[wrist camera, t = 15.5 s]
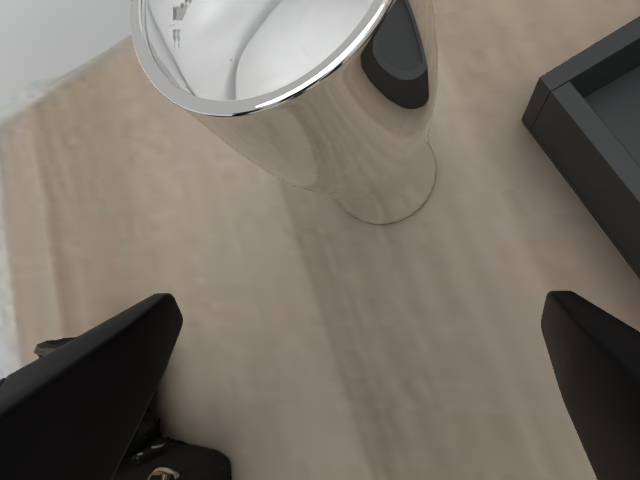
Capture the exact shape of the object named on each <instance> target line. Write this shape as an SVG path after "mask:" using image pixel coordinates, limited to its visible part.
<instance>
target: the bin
mask: <svg viewBox="0 0 640 480" xmlns="http://www.w3.org/2000/svg"><path fill="white" fill-rule="evenodd" d="M522 122H523V123H524V124H525V126H526V127H527V128H528V130H529V131H530V132H531V134H532V135H533V136H534V138H535V139H536V140H537V142H538V143H539V144H540V146H541V147H542V148H543V150H544V151H545V152H546V154H547V155H548V156H549V158H550V159H551V160H552V162H553V163H554V164H555V166H556V167H557V168H558V170H559V171H560V172H561V174H562V175H563V176H564V178H565V179H566V180H567V182H568V183H569V184H570V186H571V187H572V188H573V190H574V191H575V192H576V194H577V195H578V196H579V198H580V199H581V200H582V202H583V203H584V204H585V206H586V207H587V208H588V210H589V211H590V212H591V214H592V215H593V216H594V218H595V219H596V220H597V222H598V223H599V224H600V226H601V227H602V228H603V230H604V231H605V232H606V234H607V235H608V237H609V238H610V239H611V241H612V242H613V243H614V245H615V246H616V247H617V249H618V250H619V251H620V253H621V254H622V255H623V257H624V258H625V259H626V261H627V262H628V263H629V265H630V266H631V267H632V269H633V270H634V271H635V273H636V274H637V275H638V277H639V278H640V16H639V17H638V18H636V19H635V20H633V21H631V22H630V23H628V24H626V25H625V26H623V27H621V28H620V29H618V30H617V31H615V32H613V33H612V34H610V35H608V36H607V37H605V38H603V39H602V40H600V41H599V42H597V43H595V44H594V45H592V46H590V47H589V48H587V49H585V50H584V51H582V52H581V53H579V54H577V55H576V56H574V57H572V58H571V59H569V60H568V61H566V62H564V63H563V64H561V65H559V66H558V67H556V68H554V69H553V70H551V71H550V72H548V73H546V74H545V75H543V76H541V77H540V78H539V80H538V82H537V85H536V87H535V89H534V92H533V94H532V96H531V99H530V101H529V103H528V106H527V108H526V110H525V113H524V115H523V117H522Z"/></svg>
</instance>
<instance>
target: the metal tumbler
mask: <svg viewBox="0 0 640 480" xmlns="http://www.w3.org/2000/svg"><path fill="white" fill-rule="evenodd" d="M131 32H132V38H133V43H134V47H135V51H136V54H137V57H138V60H139V62H140V64H141V66H142V68H143V70H144V72H145V74H146V76H147V77H148V79H149V80H150V81H151V83H152V84H153V85H154V86H155V87H156V89H157V90H158V91H159V92H160V93H161V94H162V95H164V96H165V97H166V98H167V99H168V100H170V101H171V102H173V103H174V104H176V105H178V106H180V107H182V108H183V109H184V110H186V111H187V112H188V113H189V114H191V115H192V116H193V117H194V118H196V119H197V120H198V121H199V122H200V123H202V124H203V125H204V126H205V127H206V128H208V129H209V130H210V131H211V132H212V133H214V134H215V135H216V136H217V137H219V138H220V139H221V140H222V141H224V142H225V143H226V144H228V145H229V146H230V147H231V148H233V149H234V150H235V151H237V152H238V153H239V154H241V155H242V156H244V157H245V158H247V159H248V160H249V161H251V162H252V163H254V164H255V165H257V166H258V167H260V168H261V169H263V170H264V171H266V172H268V173H270V174H272V175H273V176H275V177H277V178H279V179H281V180H283V181H285V182H286V183H288V184H291V185H293V186H295V187H298V188H301V189H304V190H307V191H310V192H313V193H317V194H321V195H325V196H330V197H335V198H337V199H338V201H339V203H340V204H341V205H342V207H343V208H344V209H345V210H346V211H347V212H348V213H350V214H351V215H352V216H354V217H355V218H357V219H359V220H361V221H364V222H367V223H372V224H388V223H393V222H397V221H399V220H402V219H404V218H406V217H408V216H410V215H411V214H412V213H414V212H415V211H416V210H417V209H419V208H420V207H421V206H422V204H423V203H424V202H425V201H426V199H427V198H428V196H429V194H430V192H431V190H432V188H433V185H434V182H435V177H436V164H435V158H434V155H433V152H432V150H431V148H430V146H429V144H428V142H427V141H426V139H427V136H428V132H429V129H430V125H431V122H432V117H433V112H434V106H435V100H436V94H437V86H438V45H437V35H436V26H435V17H434V8H433V2H432V0H131Z"/></svg>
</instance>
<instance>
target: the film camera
mask: <svg viewBox="0 0 640 480" xmlns="http://www.w3.org/2000/svg"><path fill="white" fill-rule="evenodd" d="M75 338H77V337H75ZM75 338H62V339H59V340H49V341H45V342H43V343H40V344H38V345H37V346H36V348H35V350H34V353H36V354H37V355H38V356H39V358H41V357H42V356H44V355H46V354H48V353H50V352H51V351H53V350H55V349H57V348H59V347H60V346H62V345H64V344H66V343H68V342H69V341H71V340H73V339H75ZM160 422H161V421H160V419H158V420H156V419H155V418H154V417H153V416H152V415H151V414H150V413H149V412H148V410H147V409H146V411H145V413H144V415H143V417H142V420H141V422H140V424H139V426H138V428H137V430H136V432H135V434H134V436H133V438H132V440H131V442H130V444H129V446H128V448H127V450H126V452H125V454H124V456H123V458H122V460H121V462H120V464H119V466H118V468H117V470H116V472H115V474H114V476H113V478H112V480H231V475H230V474H231V469H230V462H229V460H228V459H227V457H225V456H224V455H223V454H222V453H220V452H218V451H216V450H211V449H210V450H209V449H207V448H203V447H199V446H195V445H189V444H188V443H185V442H183V441H182V442H181V441H179V440H178V441H177V440H176V441H175V440H174V439H172V440H171V438H168V437H167V438H162V433H159V427H160Z"/></svg>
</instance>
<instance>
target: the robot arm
mask: <svg viewBox="0 0 640 480" xmlns="http://www.w3.org/2000/svg"><path fill="white" fill-rule="evenodd" d="M182 324H183V317H182V314H181V312H180V310H179V307H178V305H177V303H176V301H175V298H174V297H173V296H172V295H171V294H169V293H158V294H154V295H152V296H150V297H149V298H147V299H145V300H143V301H141V302H140V303H138V304H136V305H134V306H132V307H131V308H129V309H127V310H125V311H123V312H122V313H120V314H118V315H116V316H114V317H113V318H111V319H109V320H107V321H105V322H104V323H102V324H100V325H98V326H96V327H95V328H93V329H91V330H89V331H87V332H86V333H84V334H82V335H80V336H78V337H77V338H75V339H73V340H71V341H69V342H68V343H66V344H64V345H62V346H60V347H59V348H57V349H55V350H53V351H51V352H50V353H48V354H46V355H44V356H42V357H41V358H39V359H37V360H35V361H33V362H32V363H30V364H28V365H26V366H24V367H23V368H21V369H19V370H17V371H16V372H14V373H12V374H10V375H8V376H7V378H3V379H1V380H0V480H112V478H113V476H114V474H115V472H116V470H117V468H118V466H119V464H120V462H121V460H122V458H123V456H124V454H125V452H126V450H127V448H128V446H129V444H130V442H131V440H132V438H133V436H134V434H135V432H136V430H137V428H138V426H139V424H140V422H141V420H142V417H143V415H144V413H145V411H146V409H147V407H148V405H149V403H150V401H151V399H152V397H153V395H154V393H155V391H156V389H157V387H158V385H159V383H160V381H161V379H162V377H163V374H164V372H165V369H166V367H167V364H168V361H169V359H170V356H171V354H172V351H173V348H174V346H175V343H176V340H177V338H178V335H179V333H180V330H181V327H182ZM541 328H542V333H543V336H544V339H545V343H546V346H547V349H548V353H549V356H550V359H551V362H552V366H553V369H554V372H555V376H556V379H557V382H558V386H559V389H560V392H561V395H562V398H563V400H564V403H565V405H566V408H567V410H568V413H569V415H570V417H571V420H572V422H573V424H574V426H575V429H576V431H577V433H578V436H579V438H580V440H581V443H582V445H583V447H584V449H585V452H586V454H587V456H588V459H589V461H590V463H591V466H592V468H593V470H594V472H595V475H596V477H597V479H598V480H640V332H639V331H637V330H635V329H634V328H632V327H630V326H629V325H627V324H625V323H624V322H622V321H620V320H619V319H617V318H615V317H614V316H612V315H610V314H609V313H607V312H605V311H604V310H602V309H600V308H599V307H597V306H596V305H594V304H592V303H591V302H589V301H587V300H586V299H584V298H582V297H581V296H579V295H577V294H576V293H574V292H572V291H550V292H549V293H548V294H547V296H546V300H545V305H544V309H543V314H542V319H541Z"/></svg>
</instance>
